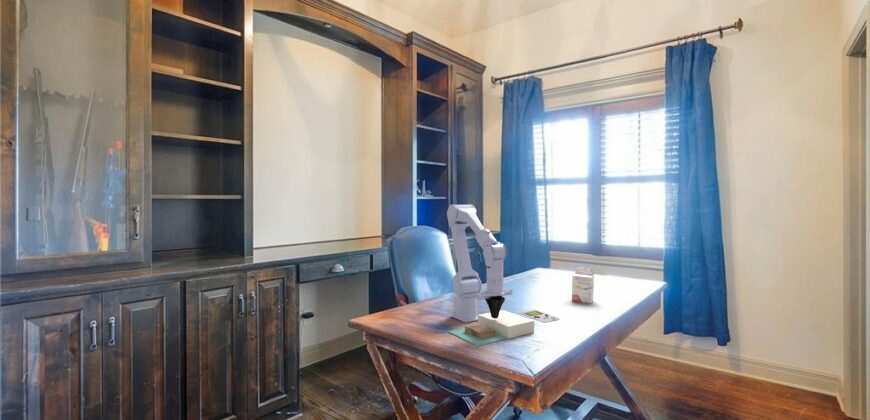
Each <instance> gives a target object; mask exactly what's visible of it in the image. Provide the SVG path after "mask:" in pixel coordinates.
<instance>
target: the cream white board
mask: <svg viewBox="0 0 870 420" xmlns="http://www.w3.org/2000/svg"><path fill="white" fill-rule="evenodd" d="M477 316H478V320H477V323H479V324H482V325H484V326H487V327H489V328H491V329H494V330H496V333H498V334H501V335H503V336H505V337H508V339H512V338H516V337H520V336H525V335H529V334H532V333H535V319H532V318H530V319H529V317H526V316H525V317H524V316H523V315H518V314H516V313H513V312H510V311H507V310H505V309H502V310H501V309H500V312H499V316H498V318H496V319H495V318H492V317H491V313H490V312H487V313H485V312H484V313H482V314H481V313H480V314H477ZM508 339H507V340H508Z"/></svg>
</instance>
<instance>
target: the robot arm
mask: <svg viewBox="0 0 870 420" xmlns="http://www.w3.org/2000/svg"><path fill="white" fill-rule="evenodd" d="M446 217H447V222H448V227H449V228H450V231H451V237H452V242H453V247H454V253H455V259H456V264H457V268H458V269H457V270H458V271H457V272H456V273H455V275H454V276H453V285H452V286H453V291H454V293H455V295H454V296H453V300H452V306H453V307H452V314H451V316H450V317H452V318H455V319H457V320H459V321H462V322H463V323H469V322H475V321H478V300H479V301H482V300H484V301H485V302H486V303H487V306H488V309H489V313H491V317H492V318H495V319H496V318H498V316H499V312H500V310H501V309H502V306H503V304H504V302H505V301H506V297H504V296H512V295H513V289H512V288H509V287H508V288H504V261H505V260H506V259H507V256H508V249H507V247H506V245H505V244H504V243H501V242H500V241H497V239H496V238H495V236H494V235H493V234H492V232H491V230H490V229H488V228H484V226H483V225H482V223H481V221H480V220H479V217H478V216H477V209H476V208H475V206H474V205H473V204H470V203H469V204H454V203H453V204H450V205H449V206H448V208H447V211H446ZM467 227H470V229H471V230H472V231H473V232H474V233H475V240H476V241H477V243H478V244H479V247H481V249H482V250H483V252H482V255H483V258H484V261H485V262H484V264H485V266H486V290H484V291H482V289H483V283H482V281H481V279H480V276H479V273H478V272H477V271H476V270H474V269H473V268H472V267H473V266H472V263H471V258H470V251H469V248H468V240H467V237H466V236H467V234H466V228H467Z"/></svg>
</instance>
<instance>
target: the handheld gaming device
mask: <svg viewBox="0 0 870 420" xmlns="http://www.w3.org/2000/svg"><path fill="white" fill-rule="evenodd" d="M518 314H520V315H521V316H525V317H527V318H530V319H532V320H534V321H535V320H536V321H538V322H540V323H551V322H554V321H559V320H560V318H559V317H557V316H554V315H552V314H548V313H545V312H543V311H540V310H538V309H529V310H523V311H519V312H518Z"/></svg>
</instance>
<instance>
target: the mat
mask: <svg viewBox="0 0 870 420" xmlns="http://www.w3.org/2000/svg"><path fill="white" fill-rule="evenodd" d="M448 333H449V334H452V335H453V336H456V337H458V338H460V339H462V340H463V341H466V342H468V343H470V344H472V345H474V346H476V347H479V346H480V347H481V346H484V345H488V344H492V343H496V342H501V341H504V340H508V337H505V336H503V335H501V334H498V333H496V334H495V336H494V337H490V338H486V339H479V338H477V337H475V336H473V335H471V334H468V333H466V332H465V327H462V328H458V329H453V330H448Z"/></svg>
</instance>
